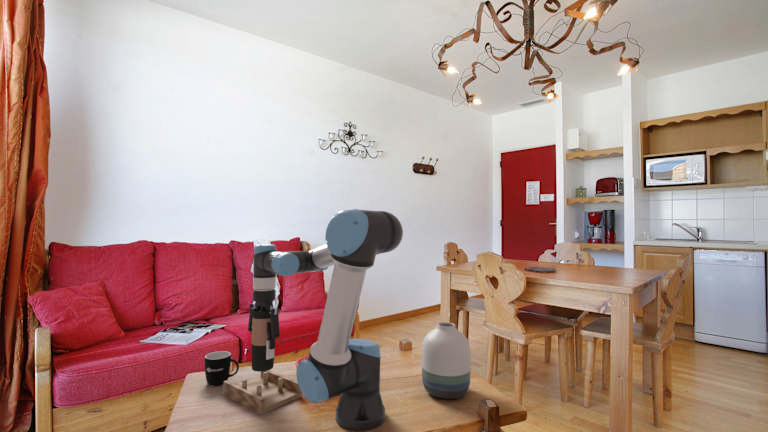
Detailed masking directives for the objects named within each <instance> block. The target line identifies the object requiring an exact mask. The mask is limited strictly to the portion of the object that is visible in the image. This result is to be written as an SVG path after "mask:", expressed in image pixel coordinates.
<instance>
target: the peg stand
mask: <svg viewBox="0 0 768 432" xmlns="http://www.w3.org/2000/svg"><path fill="white" fill-rule="evenodd" d="M222 387H223V389H222V391H223V393H222V395H223V396H225V397H227V398H229V399H231V400H232V401H234V402H236V403H238V404H239V405H242V406H244V407H246V408H248V409H250V410H251V411H252V412H255V413H257V414H259V415H261V416H262V415H263V414H266V413H268V412H270V411H272V410H274V409H277V408H279V407H281V406H282V407H283V405H286V404H288V403H290V402H293V401H294V400H297V399H299V398H302V397H303V394H302V392H301V390H300V388H299V385H298V382H297V380H295V379H293V378H290V377H287V376H285V375H283V374H280V373H277V372H275V371H272V370H271V369H270V370H268V371H262V372H260V377H256V378H254V379H251V380H249V381H248V379H247V378H244V379H242V381H241V383H240V384H235V383H234V382H231V381H229V380H226V381H224V383H223V384H222Z"/></svg>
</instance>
